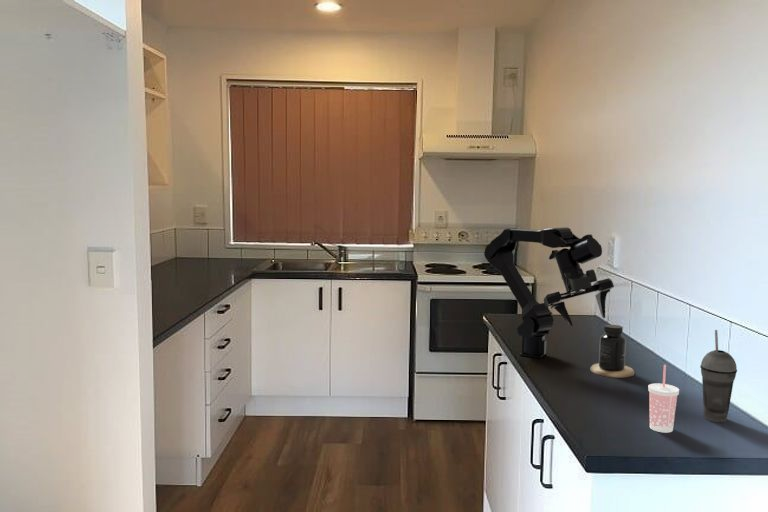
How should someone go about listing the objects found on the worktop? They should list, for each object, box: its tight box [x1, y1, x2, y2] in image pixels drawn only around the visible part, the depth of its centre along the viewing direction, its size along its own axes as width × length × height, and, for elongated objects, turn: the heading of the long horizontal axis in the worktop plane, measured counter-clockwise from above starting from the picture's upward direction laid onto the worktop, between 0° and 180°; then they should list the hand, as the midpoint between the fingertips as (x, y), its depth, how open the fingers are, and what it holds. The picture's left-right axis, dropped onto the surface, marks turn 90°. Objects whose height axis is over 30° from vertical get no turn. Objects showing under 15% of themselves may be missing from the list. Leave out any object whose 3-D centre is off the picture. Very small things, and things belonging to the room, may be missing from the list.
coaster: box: [589, 362, 635, 379], centre depth 176 cm, size 12×12×1 cm
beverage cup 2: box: [699, 329, 738, 423], centre depth 140 cm, size 7×7×20 cm
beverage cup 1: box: [647, 364, 680, 434], centre depth 135 cm, size 6×6×14 cm
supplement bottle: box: [598, 324, 627, 371], centre depth 176 cm, size 7×7×12 cm
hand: (587, 322), depth 176 cm, fingers open, 9 cm apart
